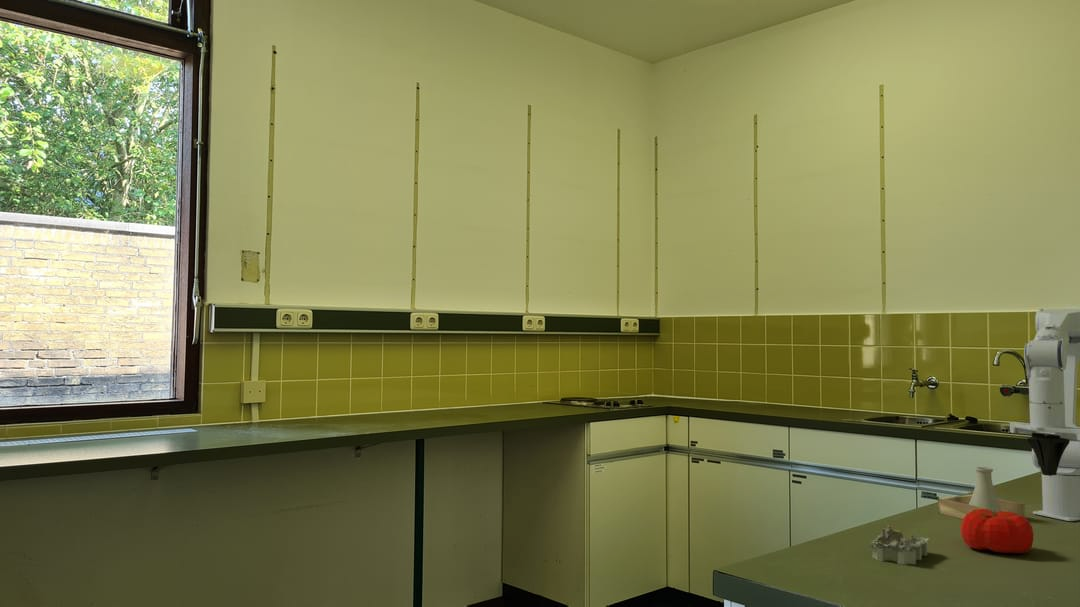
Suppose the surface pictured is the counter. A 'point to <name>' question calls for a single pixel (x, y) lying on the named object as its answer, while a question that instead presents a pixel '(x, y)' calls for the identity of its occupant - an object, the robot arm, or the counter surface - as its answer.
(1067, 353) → the robot arm
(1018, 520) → the tomato
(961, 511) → the oak frame
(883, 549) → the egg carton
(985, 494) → the flask
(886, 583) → the counter surface
